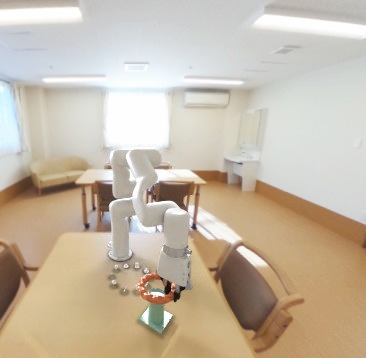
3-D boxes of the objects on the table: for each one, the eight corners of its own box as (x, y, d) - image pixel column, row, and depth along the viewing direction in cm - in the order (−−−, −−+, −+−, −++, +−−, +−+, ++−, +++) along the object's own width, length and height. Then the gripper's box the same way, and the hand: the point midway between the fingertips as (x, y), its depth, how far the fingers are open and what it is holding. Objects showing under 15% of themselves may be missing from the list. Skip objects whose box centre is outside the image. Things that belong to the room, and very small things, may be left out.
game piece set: (115, 299, 85) (114, 291, 84) (106, 268, 104) (106, 261, 103) (159, 289, 90) (159, 282, 89) (143, 262, 109) (143, 255, 108)
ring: (130, 293, 72) (130, 287, 71) (150, 272, 82) (150, 266, 82) (165, 313, 64) (166, 306, 63) (183, 287, 74) (184, 281, 74)
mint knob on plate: (138, 321, 75) (139, 295, 73) (151, 305, 82) (152, 281, 80) (161, 336, 70) (162, 308, 67) (172, 317, 77) (174, 291, 74)
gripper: (204, 251, 64) (200, 301, 68) (158, 235, 73) (156, 280, 77) (196, 263, 58) (191, 318, 62) (146, 244, 67) (145, 293, 72)
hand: (172, 297), depth 70 cm, fingers closed on ring, 2 cm apart
